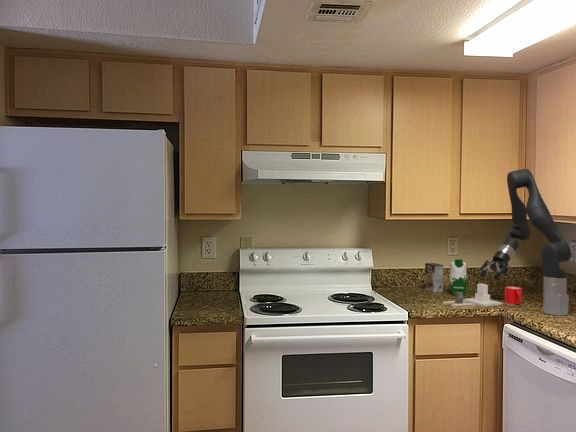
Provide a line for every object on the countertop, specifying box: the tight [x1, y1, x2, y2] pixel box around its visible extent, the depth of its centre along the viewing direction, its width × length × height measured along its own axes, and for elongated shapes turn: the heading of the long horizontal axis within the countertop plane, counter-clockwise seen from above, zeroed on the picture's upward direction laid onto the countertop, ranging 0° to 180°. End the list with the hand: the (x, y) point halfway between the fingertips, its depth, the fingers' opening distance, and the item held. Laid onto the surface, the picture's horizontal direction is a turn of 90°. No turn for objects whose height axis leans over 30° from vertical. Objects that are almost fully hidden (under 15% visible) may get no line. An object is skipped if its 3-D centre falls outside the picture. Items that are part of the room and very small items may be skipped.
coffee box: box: [424, 262, 444, 293], centre depth 257 cm, size 9×6×16 cm
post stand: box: [442, 292, 477, 310], centre depth 219 cm, size 11×11×7 cm
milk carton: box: [449, 258, 467, 296], centre depth 247 cm, size 9×9×20 cm
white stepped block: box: [474, 283, 491, 302], centre depth 225 cm, size 5×5×8 cm
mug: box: [504, 285, 523, 305], centre depth 223 cm, size 8×12×8 cm, turn 177°
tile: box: [463, 297, 503, 307], centre depth 225 cm, size 14×12×1 cm
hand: (487, 277), depth 226 cm, fingers open, 8 cm apart
